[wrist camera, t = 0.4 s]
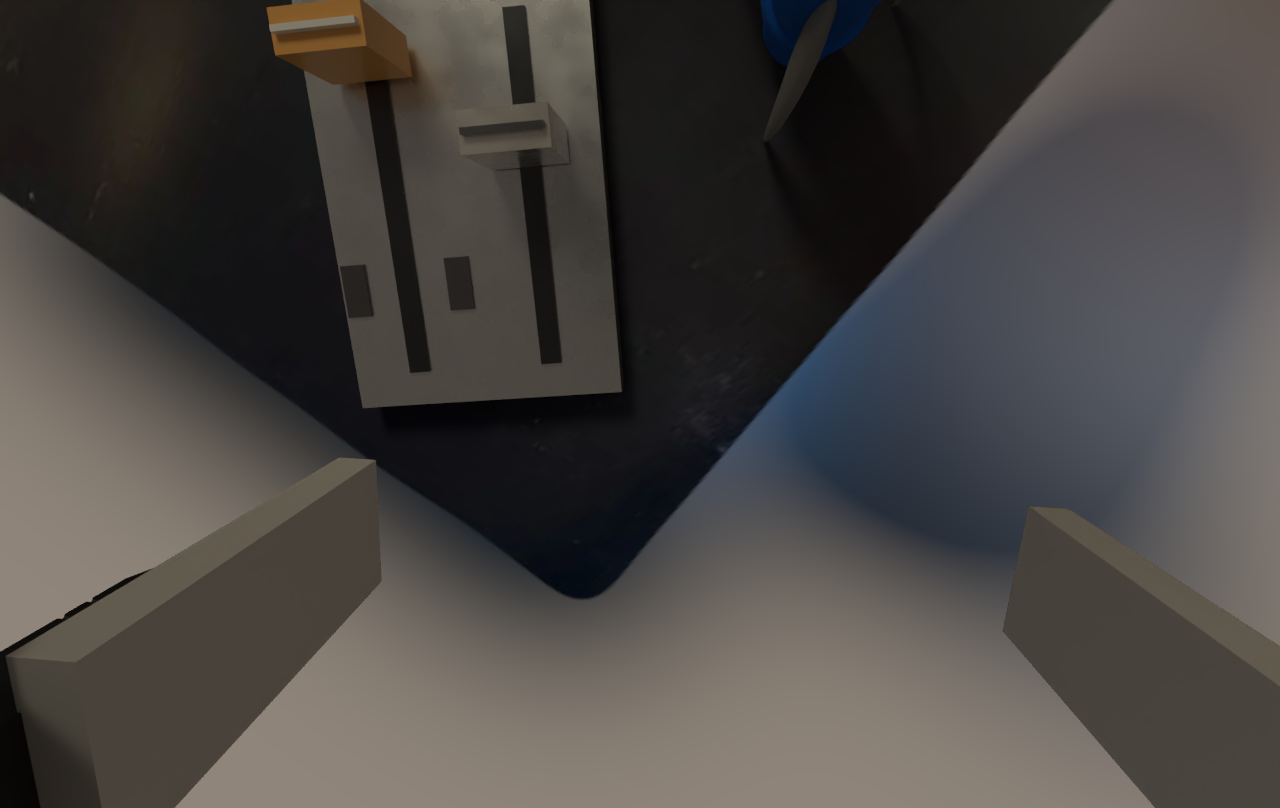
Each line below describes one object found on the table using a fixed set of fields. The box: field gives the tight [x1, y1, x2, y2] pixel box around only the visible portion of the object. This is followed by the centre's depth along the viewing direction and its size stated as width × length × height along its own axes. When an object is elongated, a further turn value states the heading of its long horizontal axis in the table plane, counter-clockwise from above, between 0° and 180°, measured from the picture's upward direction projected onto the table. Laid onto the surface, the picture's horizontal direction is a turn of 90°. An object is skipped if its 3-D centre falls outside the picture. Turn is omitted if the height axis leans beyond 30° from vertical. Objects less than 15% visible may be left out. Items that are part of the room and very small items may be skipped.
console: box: [292, 0, 625, 408], centre depth 34 cm, size 24×16×8 cm, turn 4°
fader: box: [267, 0, 412, 85], centre depth 31 cm, size 2×4×5 cm, turn 94°
